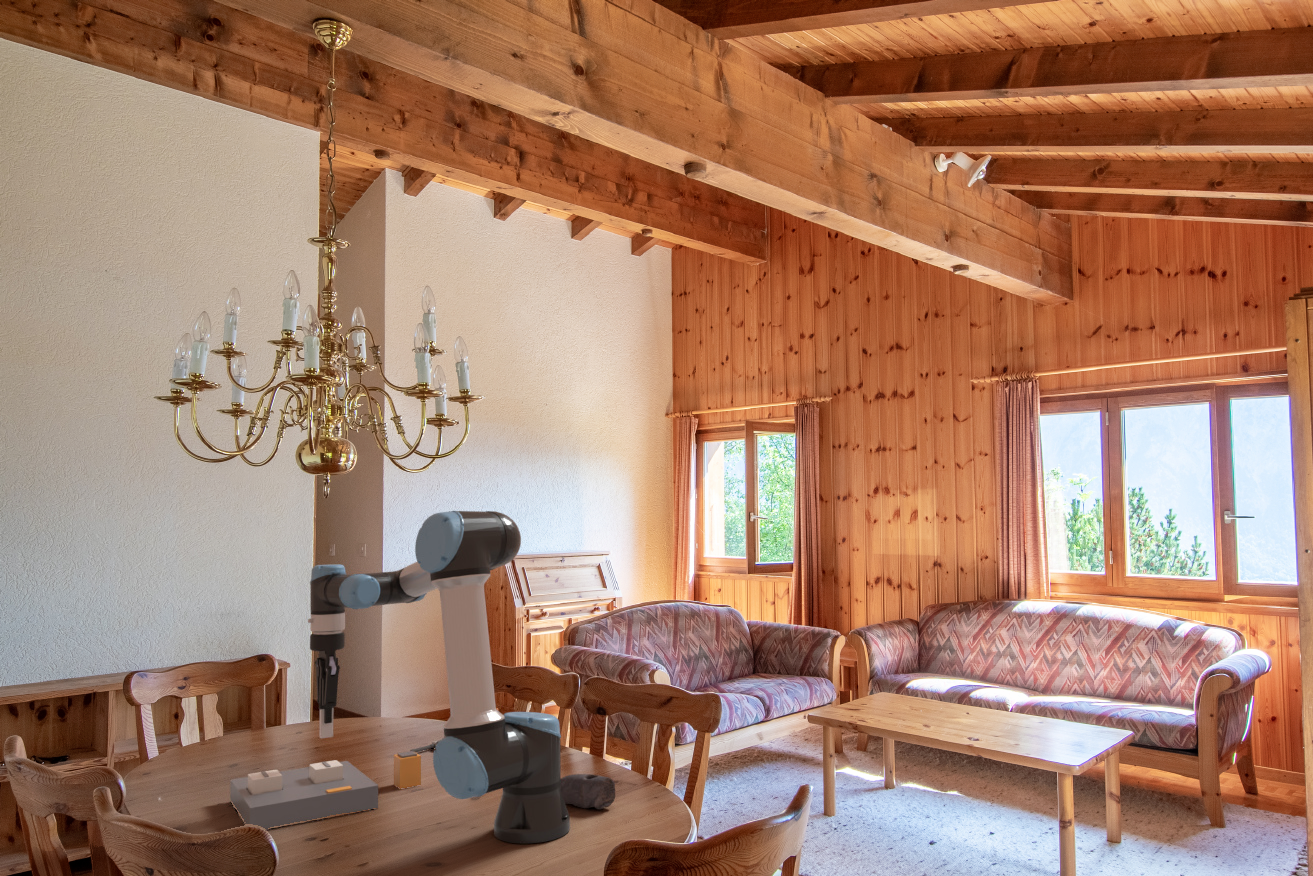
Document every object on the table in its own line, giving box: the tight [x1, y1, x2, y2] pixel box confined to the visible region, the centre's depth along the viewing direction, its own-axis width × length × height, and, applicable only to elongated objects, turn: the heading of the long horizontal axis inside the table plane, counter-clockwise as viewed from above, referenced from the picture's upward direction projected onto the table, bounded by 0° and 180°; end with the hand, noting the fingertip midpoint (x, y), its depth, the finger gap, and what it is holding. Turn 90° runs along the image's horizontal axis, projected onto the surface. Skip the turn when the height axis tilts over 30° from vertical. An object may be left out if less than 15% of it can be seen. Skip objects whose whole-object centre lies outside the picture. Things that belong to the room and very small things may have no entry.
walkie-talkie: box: [409, 739, 441, 753], centre depth 250 cm, size 9×4×20 cm
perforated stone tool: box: [561, 773, 616, 810], centre depth 198 cm, size 15×5×7 cm, turn 56°
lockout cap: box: [393, 750, 422, 790], centre depth 217 cm, size 5×5×7 cm
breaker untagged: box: [247, 769, 282, 795], centre depth 199 cm, size 6×6×5 cm
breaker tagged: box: [308, 759, 343, 784], centre depth 206 cm, size 6×6×5 cm
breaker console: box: [229, 760, 379, 831], centre depth 203 cm, size 26×26×6 cm
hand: (326, 737), depth 207 cm, fingers closed
